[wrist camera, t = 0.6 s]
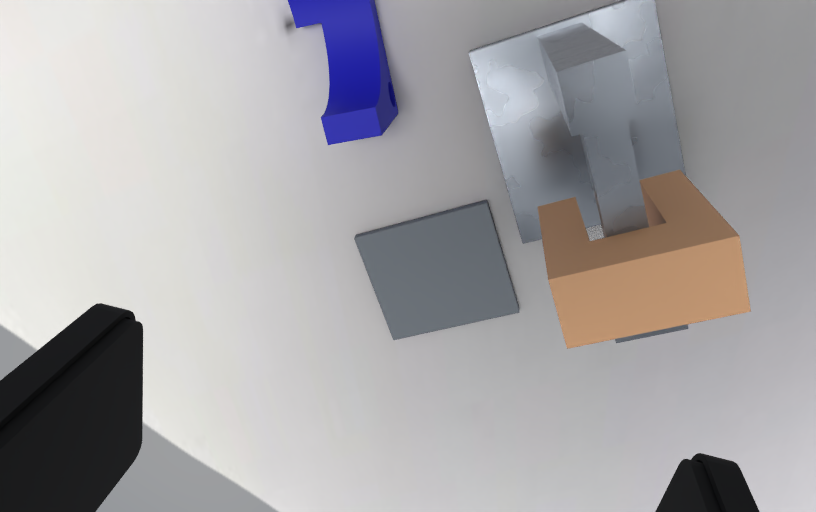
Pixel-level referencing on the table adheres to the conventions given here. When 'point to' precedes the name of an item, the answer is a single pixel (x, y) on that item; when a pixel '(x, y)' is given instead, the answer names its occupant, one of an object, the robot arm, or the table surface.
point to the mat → (438, 271)
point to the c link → (644, 266)
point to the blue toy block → (352, 67)
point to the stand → (582, 117)
